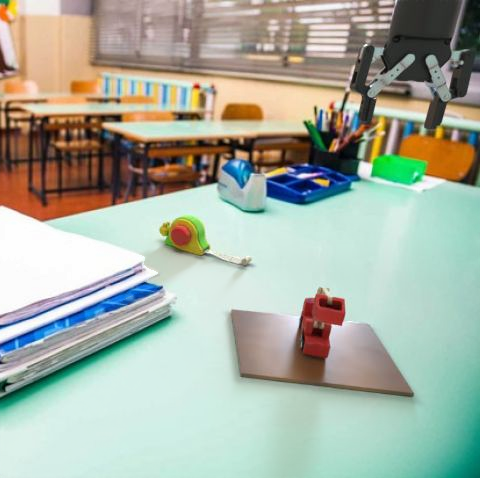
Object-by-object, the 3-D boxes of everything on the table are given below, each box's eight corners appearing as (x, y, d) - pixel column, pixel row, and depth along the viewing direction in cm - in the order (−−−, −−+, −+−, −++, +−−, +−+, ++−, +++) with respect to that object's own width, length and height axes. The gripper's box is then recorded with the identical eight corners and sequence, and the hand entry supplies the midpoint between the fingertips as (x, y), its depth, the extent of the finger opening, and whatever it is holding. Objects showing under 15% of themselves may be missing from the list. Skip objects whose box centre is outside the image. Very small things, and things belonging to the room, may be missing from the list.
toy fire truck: (322, 323, 72) (335, 263, 68) (330, 379, 60) (347, 309, 56) (298, 319, 73) (310, 259, 69) (301, 373, 60) (316, 303, 57)
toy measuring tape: (167, 235, 104) (169, 206, 102) (255, 260, 94) (260, 227, 92) (151, 244, 99) (153, 213, 97) (242, 271, 89) (247, 237, 87)
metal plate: (368, 326, 73) (369, 323, 72) (413, 396, 58) (414, 393, 58) (231, 311, 75) (231, 309, 75) (240, 376, 60) (241, 373, 60)
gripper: (381, -7, 60) (352, 127, 66) (506, -3, 59) (465, 134, 65) (361, -1, 67) (337, 120, 73) (472, 3, 66) (438, 126, 72)
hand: (397, 126), depth 69 cm, fingers open, 8 cm apart
